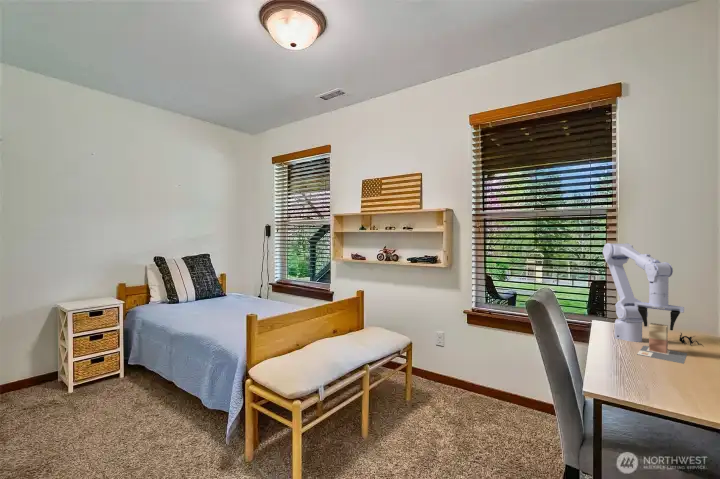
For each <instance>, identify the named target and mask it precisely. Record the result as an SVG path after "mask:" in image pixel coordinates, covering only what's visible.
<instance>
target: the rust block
mask: <svg viewBox="0 0 720 479" xmlns="http://www.w3.org/2000/svg"><path fill="white" fill-rule="evenodd" d="M648 339H649V340H648V346H649V351H654V352H660V353H665V354H666V353H667V351H668V350H669V347H668V342H669V341H668V339H669V337H668V338H667V340H666V341H665V340H659V339H653V338H648Z"/></svg>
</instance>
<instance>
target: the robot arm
mask: <svg viewBox="0 0 720 479" xmlns="http://www.w3.org/2000/svg"><path fill="white" fill-rule="evenodd" d="M602 255H603V257H604V261H605V262H606V263H607V266H608V269H609V272H610V275H611V278H612V280H613V283H614V286H615V289H616V292H617V295H618V298H619V300H618V301H617V302H616V303H615V305H614V306H615V314H616V316H617V318H616V319H615V321H614V339H616V340H623V341H627V342H631V343H642V342H643V326H644V327H645V328H646V327H648V316H649V312H648V309H649V310H652V309H653V310H658V311H659V310H660V311H668V312H669V311H670V314H669V315H670V325H669V326H670V327H669V331H673V330H674V327H675V326H674V325H675V323H676V321H677V319H678V317H679V315H680V314H681V313H685V307H684V306H681V305H679V306H678V305H674V304H673V305H672V304H669V278H670V277H672V276H673V272H674V270H673V269H674V268H673V266H672V264H670V263H669V262H667V261H666V262H665V261H664V262H661V261H660V260H659V259H657V258H654V257H652V256H651V254H649V253H641V252H640V251H639V250H636V249H635V248H634V245H632V244H631V243H628V242H627V243H626V242H625V243H609V242H607V243H605V244H604V246H603V249H602ZM629 259H631V260H633V261H634V264H635V265H636V266H637V267H639V268H641V269H642V270H644V272H645V275H646V277H647V278H646V279H647V280H648V302H643V301H641V300H639V299H638V298H636V297H635V296H634V295H635V294H634V292H633V290H632V287H631V284H630V280H629V278H628V276H627V273H626V270H625V267H624V264H626V263H628V261H629Z"/></svg>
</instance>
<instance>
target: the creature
mask: <svg viewBox="0 0 720 479" xmlns="http://www.w3.org/2000/svg"><path fill="white" fill-rule="evenodd" d="M695 337H696V335H693V336H690V337H689V336H687V335H684V336H683V332H680V334H679V339H678V340H679V342H680V343H682V344H685V345H688V343H687V341H686V340H685V338H687V339H688V342H689V346H690V347H693V344H694V345H695V346H698V345H699V346H702V347H703V348H704V347H705V346H704V345H702V343H699V341H697V340H694V341H693V338H695ZM695 342H696V343H697V344H696V343H695Z"/></svg>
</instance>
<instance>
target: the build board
mask: <svg viewBox="0 0 720 479" xmlns="http://www.w3.org/2000/svg"><path fill="white" fill-rule="evenodd" d="M636 355H637V356H642V357H647V358H651V359H657V360H658V359H659V360H663V361H668V362H673V363H678V364H683V365H684V364H685V361H686V358H687V356H688V353H687V352H682V351H677V350H672V349H671V350H669V349H668V351H667V353H666V354H665V353H660V352H654V351H649V345H643V346H642V347H641V348H640V350H639V351H638V352H637V354H636Z"/></svg>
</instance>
